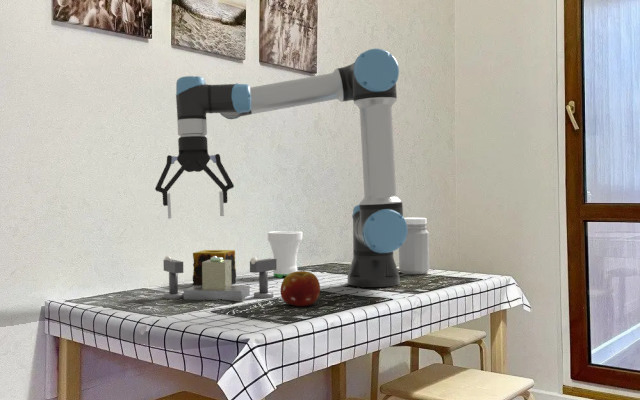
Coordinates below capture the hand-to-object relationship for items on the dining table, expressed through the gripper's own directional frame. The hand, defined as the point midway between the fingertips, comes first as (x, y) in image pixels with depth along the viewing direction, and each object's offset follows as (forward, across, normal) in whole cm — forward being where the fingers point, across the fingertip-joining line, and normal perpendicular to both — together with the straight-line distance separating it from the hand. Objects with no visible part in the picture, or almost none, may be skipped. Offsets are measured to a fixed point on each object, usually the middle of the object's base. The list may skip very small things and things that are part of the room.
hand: (196, 217), depth 178 cm
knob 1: (+20, +7, +3) cm, 22 cm away
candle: (+21, -5, -18) cm, 28 cm away
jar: (+23, -71, -28) cm, 80 cm away
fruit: (+22, -23, +22) cm, 38 cm away
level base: (+21, -4, +5) cm, 22 cm away
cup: (+22, -29, -31) cm, 47 cm away
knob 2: (+21, -16, +8) cm, 28 cm away
